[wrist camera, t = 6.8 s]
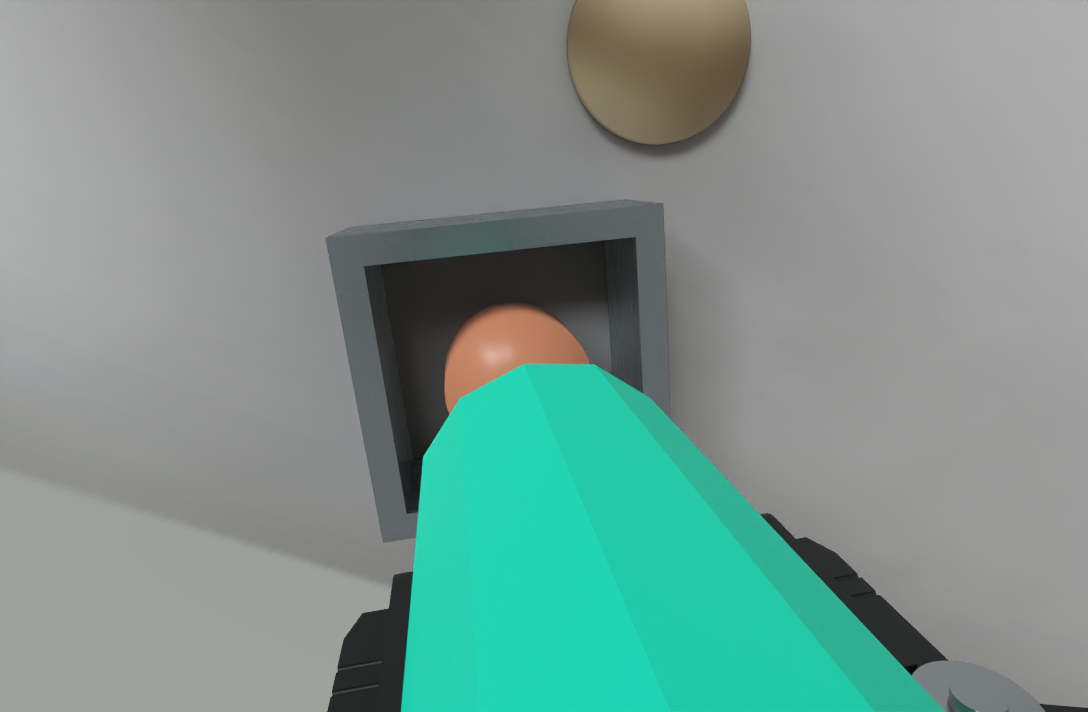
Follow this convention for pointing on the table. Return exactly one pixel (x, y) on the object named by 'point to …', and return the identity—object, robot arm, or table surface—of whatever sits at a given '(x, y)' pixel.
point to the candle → (614, 571)
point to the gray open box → (363, 249)
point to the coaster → (657, 64)
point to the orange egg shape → (505, 346)
